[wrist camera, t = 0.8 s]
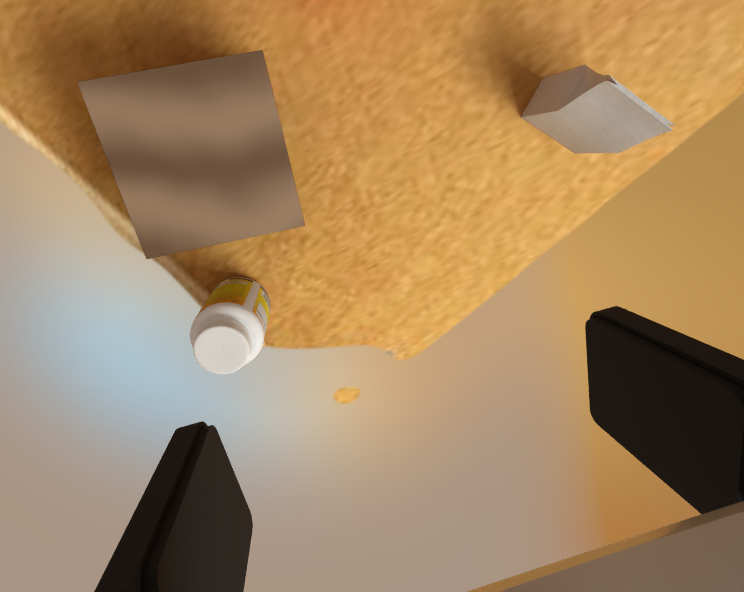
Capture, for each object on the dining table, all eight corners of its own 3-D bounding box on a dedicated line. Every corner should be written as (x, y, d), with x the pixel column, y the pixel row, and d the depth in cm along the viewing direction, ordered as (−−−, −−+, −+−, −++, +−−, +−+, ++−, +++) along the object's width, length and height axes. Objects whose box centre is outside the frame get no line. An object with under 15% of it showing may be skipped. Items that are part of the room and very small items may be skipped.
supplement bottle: (199, 305, 39) (163, 354, 29) (237, 263, 38) (213, 300, 28) (246, 340, 41) (227, 397, 31) (283, 300, 40) (276, 346, 30)
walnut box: (123, 96, 32) (76, 82, 26) (270, 70, 33) (261, 49, 27) (175, 240, 36) (146, 259, 30) (305, 213, 37) (304, 225, 31)
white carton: (574, 153, 39) (658, 152, 30) (520, 117, 38) (591, 104, 28) (596, 116, 39) (689, 104, 29) (542, 78, 37) (623, 51, 27)
